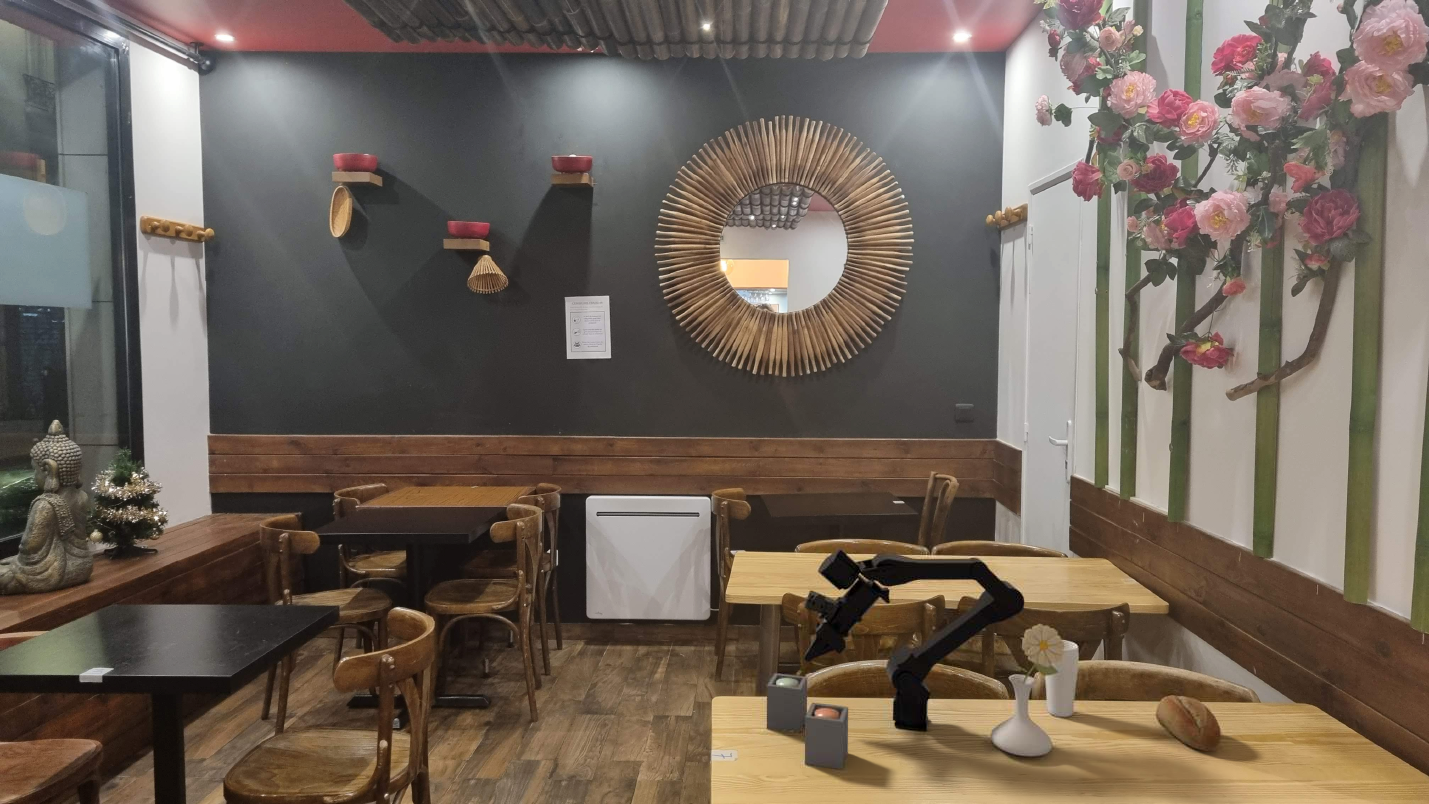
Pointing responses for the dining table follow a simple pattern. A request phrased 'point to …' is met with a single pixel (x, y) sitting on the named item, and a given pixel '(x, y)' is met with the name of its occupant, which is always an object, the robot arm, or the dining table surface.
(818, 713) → the terracotta button
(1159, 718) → the bread roll
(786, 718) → the grey square socket
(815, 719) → the grey square housing
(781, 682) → the sage button
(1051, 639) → the flower in vase
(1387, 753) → the dining table surface
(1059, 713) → the drinking glass
